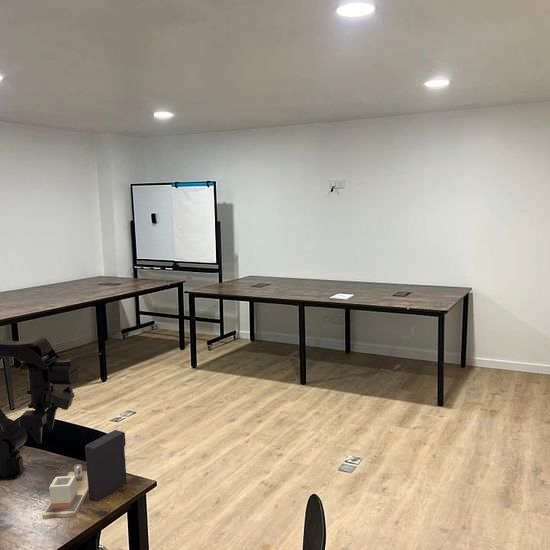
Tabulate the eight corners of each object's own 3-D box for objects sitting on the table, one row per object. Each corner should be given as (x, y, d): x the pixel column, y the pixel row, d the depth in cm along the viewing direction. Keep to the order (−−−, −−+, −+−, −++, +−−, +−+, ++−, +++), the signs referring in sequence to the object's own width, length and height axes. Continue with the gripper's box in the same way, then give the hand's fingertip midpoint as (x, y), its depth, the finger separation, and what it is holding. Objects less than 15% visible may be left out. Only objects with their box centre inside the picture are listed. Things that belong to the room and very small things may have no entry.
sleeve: (51, 509, 137) (49, 487, 136) (57, 498, 142) (55, 476, 141) (71, 507, 137) (69, 485, 136) (77, 497, 142) (75, 475, 141)
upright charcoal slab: (117, 478, 153) (113, 428, 151) (128, 482, 151) (125, 431, 149) (86, 498, 143) (82, 445, 141) (98, 502, 141) (94, 448, 139)
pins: (59, 506, 138) (58, 491, 138) (76, 477, 152) (74, 464, 152) (67, 505, 138) (66, 491, 138) (83, 477, 152) (82, 464, 152)
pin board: (42, 518, 135) (42, 514, 135) (69, 475, 156) (69, 471, 155) (75, 516, 135) (75, 512, 135) (97, 473, 156) (97, 469, 156)
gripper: (58, 394, 143) (63, 450, 145) (79, 371, 161) (83, 421, 164) (15, 396, 142) (20, 452, 145) (41, 373, 161) (45, 423, 163)
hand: (45, 436), depth 154 cm, fingers open, 9 cm apart
